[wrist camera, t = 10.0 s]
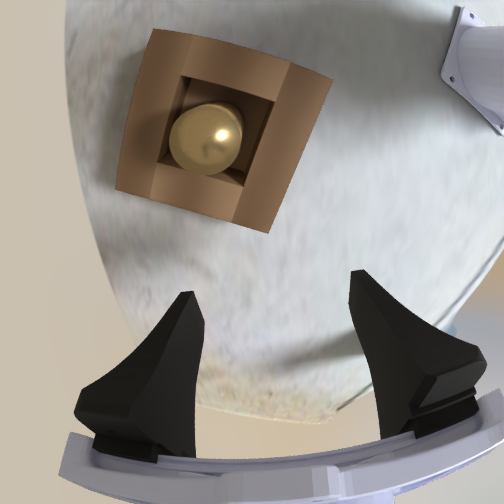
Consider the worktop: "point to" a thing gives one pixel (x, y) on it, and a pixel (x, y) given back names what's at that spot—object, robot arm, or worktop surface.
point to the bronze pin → (207, 137)
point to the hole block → (254, 133)
